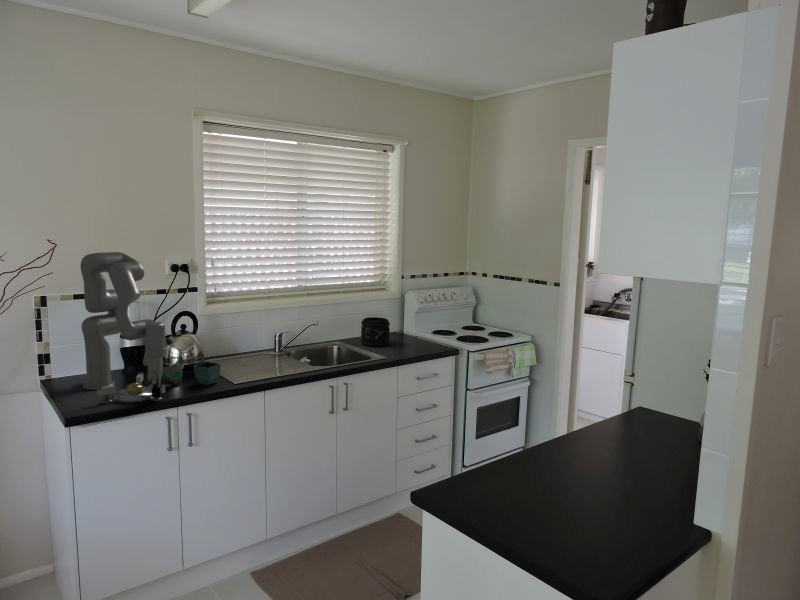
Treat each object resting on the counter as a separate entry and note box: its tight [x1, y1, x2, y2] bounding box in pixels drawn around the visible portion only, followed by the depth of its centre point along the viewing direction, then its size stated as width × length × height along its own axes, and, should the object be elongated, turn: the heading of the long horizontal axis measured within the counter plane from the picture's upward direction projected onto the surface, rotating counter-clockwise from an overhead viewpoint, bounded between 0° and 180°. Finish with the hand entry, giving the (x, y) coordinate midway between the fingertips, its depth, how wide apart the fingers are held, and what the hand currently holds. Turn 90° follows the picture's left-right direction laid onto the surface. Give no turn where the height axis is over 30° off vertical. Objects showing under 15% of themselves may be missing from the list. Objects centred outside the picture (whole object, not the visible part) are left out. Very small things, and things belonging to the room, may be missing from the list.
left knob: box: [135, 372, 144, 385], centre depth 252 cm, size 6×2×6 cm, turn 14°
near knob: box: [96, 385, 117, 400], centre depth 233 cm, size 6×2×6 cm, turn 134°
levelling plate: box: [100, 382, 164, 405], centre depth 241 cm, size 21×24×6 cm
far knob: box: [148, 383, 166, 398], centre depth 238 cm, size 6×2×6 cm, turn 79°
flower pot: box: [193, 361, 222, 386], centre depth 263 cm, size 9×9×9 cm
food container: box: [162, 360, 185, 389], centre depth 259 cm, size 12×6×10 cm, turn 168°
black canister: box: [360, 316, 391, 348], centre depth 354 cm, size 18×18×16 cm
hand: (156, 395), depth 238 cm, fingers closed on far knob, 3 cm apart
